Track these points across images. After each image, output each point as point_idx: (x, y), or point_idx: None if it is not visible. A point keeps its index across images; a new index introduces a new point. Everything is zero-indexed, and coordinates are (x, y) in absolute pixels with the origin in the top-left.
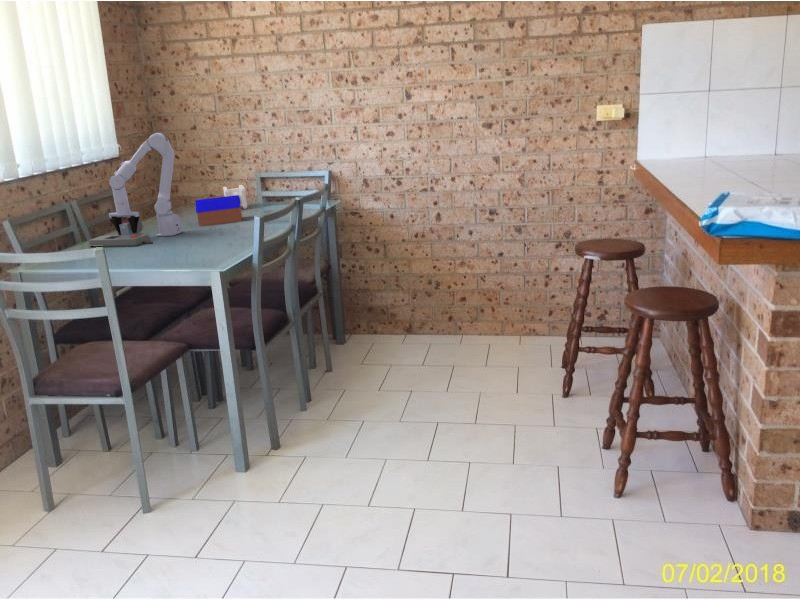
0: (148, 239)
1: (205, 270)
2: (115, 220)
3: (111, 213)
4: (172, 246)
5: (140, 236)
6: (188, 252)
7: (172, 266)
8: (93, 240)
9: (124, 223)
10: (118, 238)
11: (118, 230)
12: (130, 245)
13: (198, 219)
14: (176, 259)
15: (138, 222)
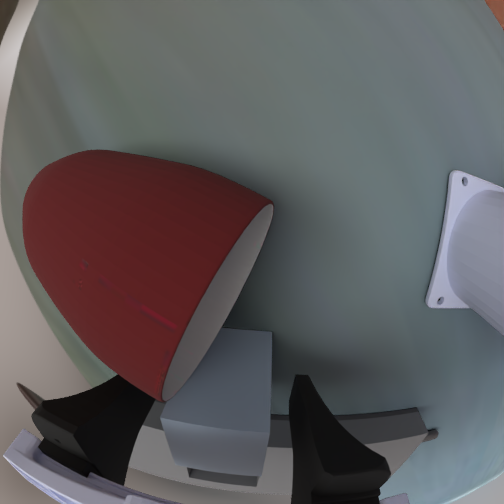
0: (417, 419)
1: (490, 480)
2: (120, 475)
3: (52, 497)
4: (485, 435)
5: (395, 461)
6: (498, 451)
7: (463, 491)
8: (152, 473)
9: (188, 443)
10: (281, 485)
11: (151, 405)
12: None
13: None
14: (474, 477)
15: (194, 188)
